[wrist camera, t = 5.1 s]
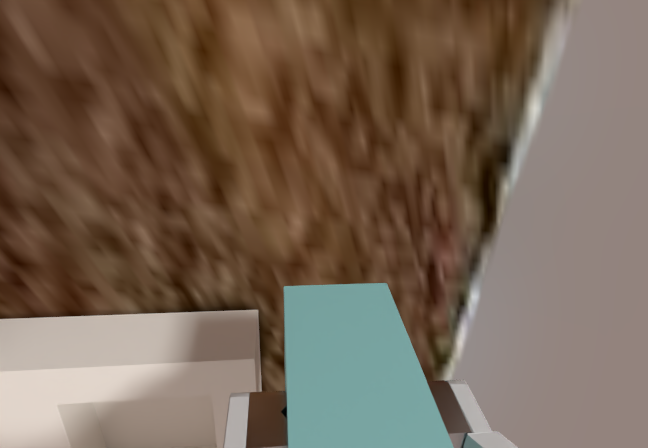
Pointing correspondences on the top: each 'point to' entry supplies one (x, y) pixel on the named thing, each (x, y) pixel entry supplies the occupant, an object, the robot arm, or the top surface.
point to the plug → (354, 372)
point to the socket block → (125, 378)
